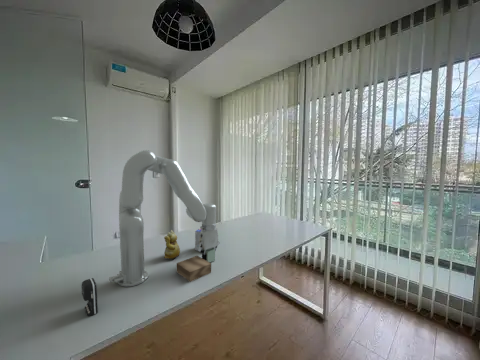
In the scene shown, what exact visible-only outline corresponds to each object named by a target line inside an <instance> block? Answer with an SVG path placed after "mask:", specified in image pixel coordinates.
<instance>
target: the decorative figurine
mask: <svg viewBox="0 0 480 360" xmlns="http://www.w3.org/2000/svg"><path fill="white" fill-rule="evenodd" d="M163 238H164V241H165V249H164V257H163V258H164V259H165V260H171V261H172V260H174V259H176V258H177V257H179V255H180V254H181V253H180V252H181V248H180V245H179V244H178V241H177V239H178V235H177V234H176V233H175V231H173V229H170V232H169V231H167V235H165V236H164V237H163Z"/></svg>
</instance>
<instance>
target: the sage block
mask: <svg viewBox="0 0 480 360" xmlns="http://www.w3.org/2000/svg"><path fill="white" fill-rule="evenodd" d="M206 255H207V257H206V261H208V262H209V263H212V262H214V261H216V251H215V249H213V248H210V249H207V250H206Z"/></svg>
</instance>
